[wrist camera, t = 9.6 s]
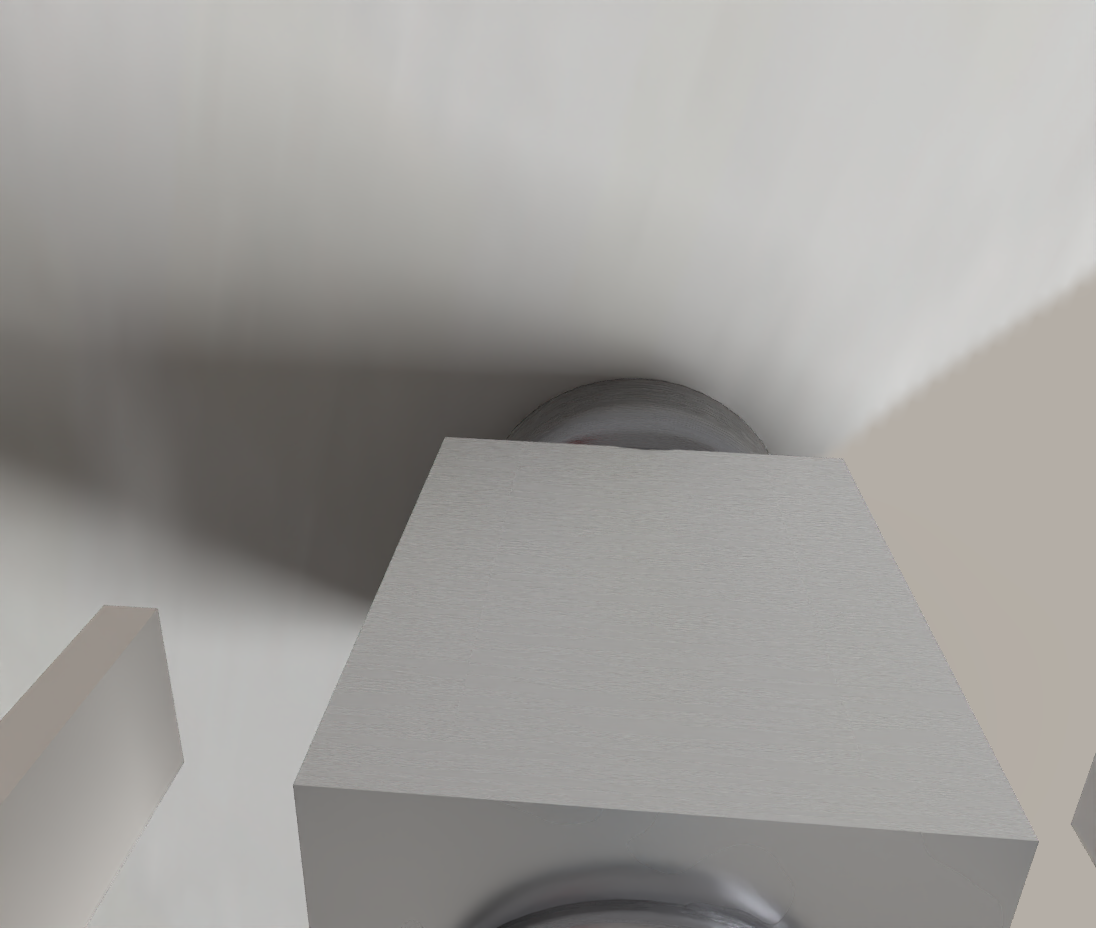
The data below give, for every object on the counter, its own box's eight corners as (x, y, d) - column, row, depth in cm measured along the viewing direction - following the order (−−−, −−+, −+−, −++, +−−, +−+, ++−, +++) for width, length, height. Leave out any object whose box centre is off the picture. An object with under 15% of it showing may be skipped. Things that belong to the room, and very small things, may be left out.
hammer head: (445, 437, 14) (276, 821, 7) (843, 458, 14) (1060, 883, 7) (451, 743, 17) (330, 1245, 10) (788, 767, 17) (908, 1305, 10)
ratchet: (482, 1066, 25) (440, 1379, 20) (481, 370, 17) (406, 550, 11) (698, 1086, 25) (721, 1409, 19) (804, 387, 17) (903, 580, 11)
